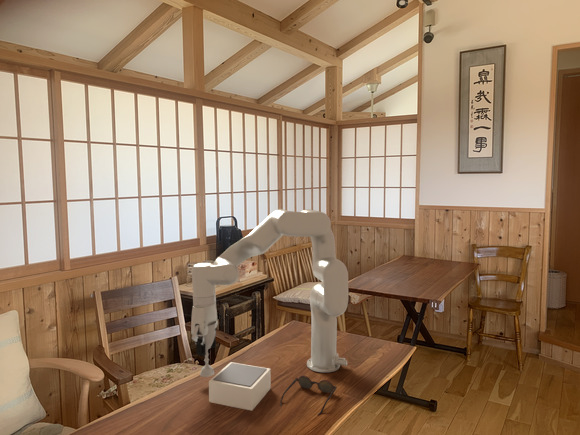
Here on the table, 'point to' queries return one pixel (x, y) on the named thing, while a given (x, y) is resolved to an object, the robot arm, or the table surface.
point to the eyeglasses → (307, 383)
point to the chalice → (208, 341)
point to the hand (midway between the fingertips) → (206, 350)
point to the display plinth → (240, 386)
